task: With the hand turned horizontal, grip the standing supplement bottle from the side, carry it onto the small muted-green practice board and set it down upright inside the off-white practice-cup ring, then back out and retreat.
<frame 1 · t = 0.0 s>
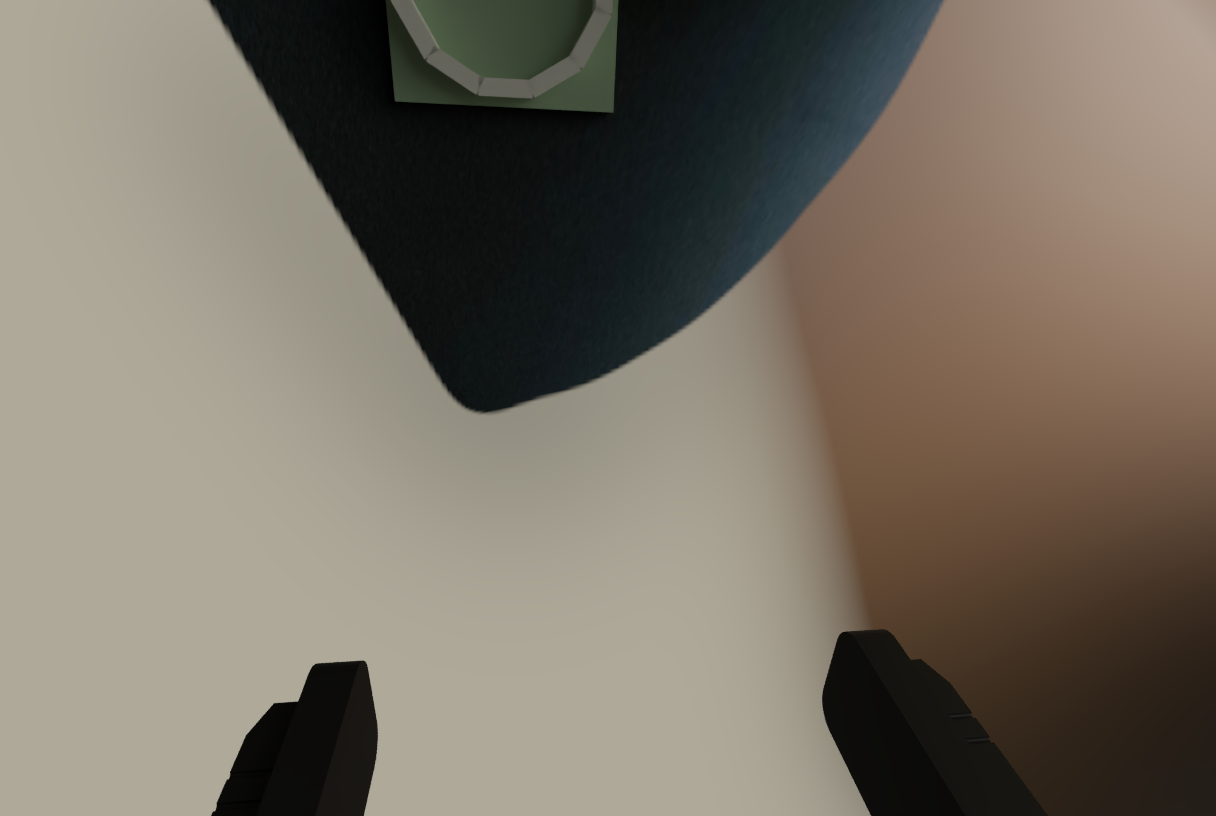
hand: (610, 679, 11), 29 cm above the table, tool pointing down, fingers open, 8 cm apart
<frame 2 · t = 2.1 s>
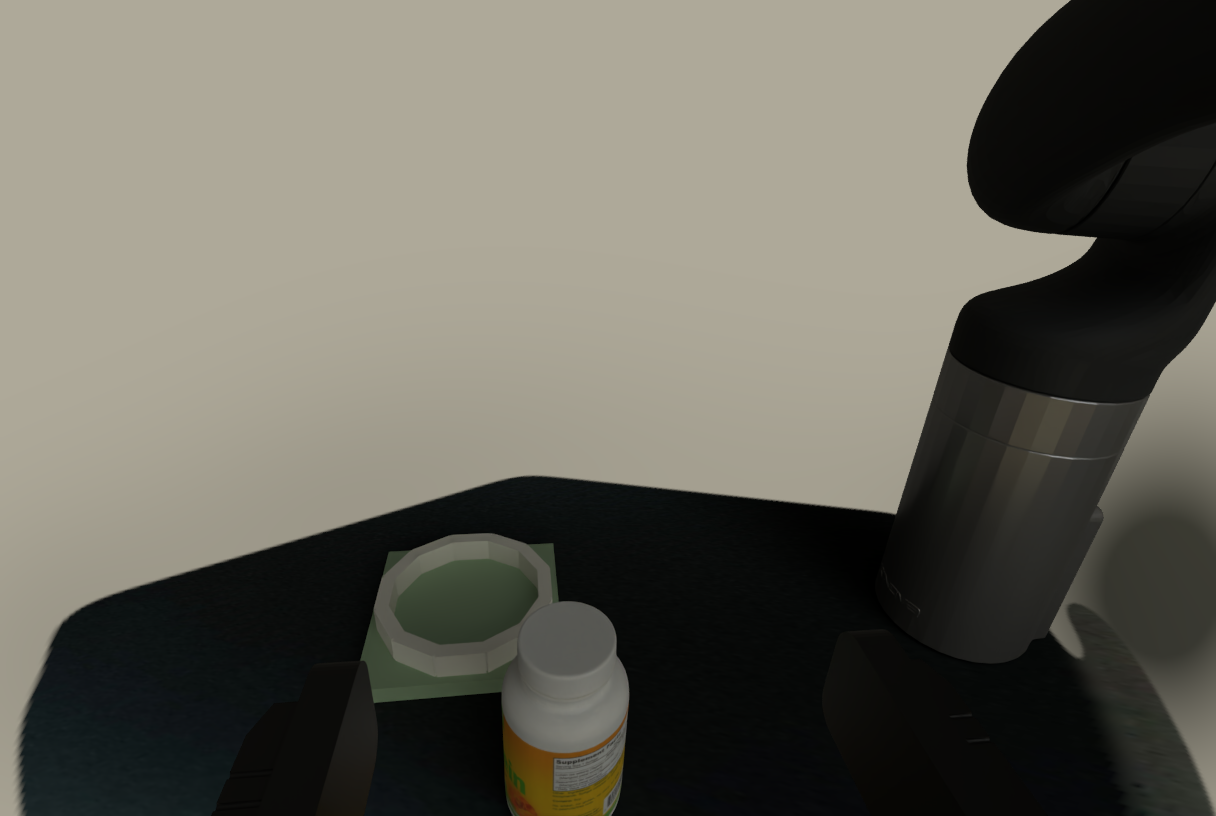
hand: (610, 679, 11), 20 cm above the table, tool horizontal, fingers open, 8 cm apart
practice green: (468, 618, 38), on the table
supplement bottle: (563, 789, 29), on the table
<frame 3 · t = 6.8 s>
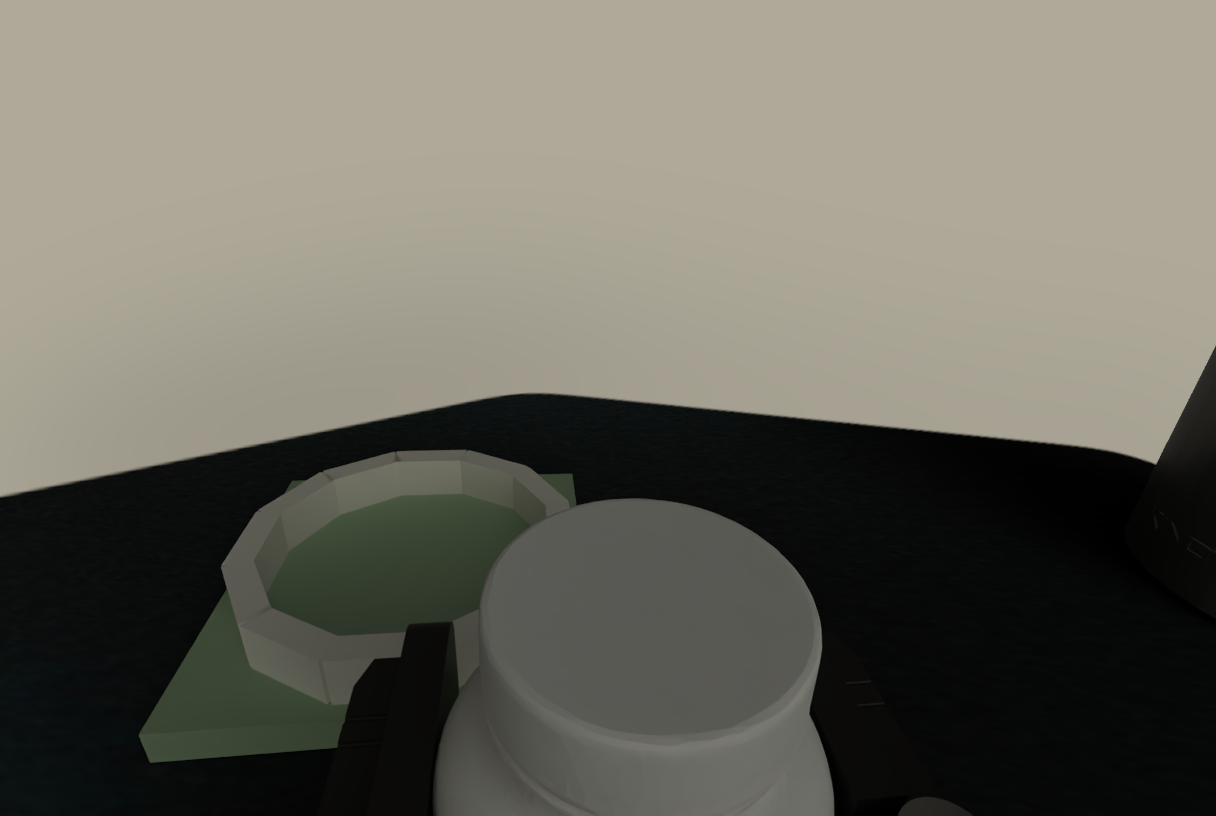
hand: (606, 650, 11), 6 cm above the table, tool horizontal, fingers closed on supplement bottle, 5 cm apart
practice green: (418, 591, 21), on the table
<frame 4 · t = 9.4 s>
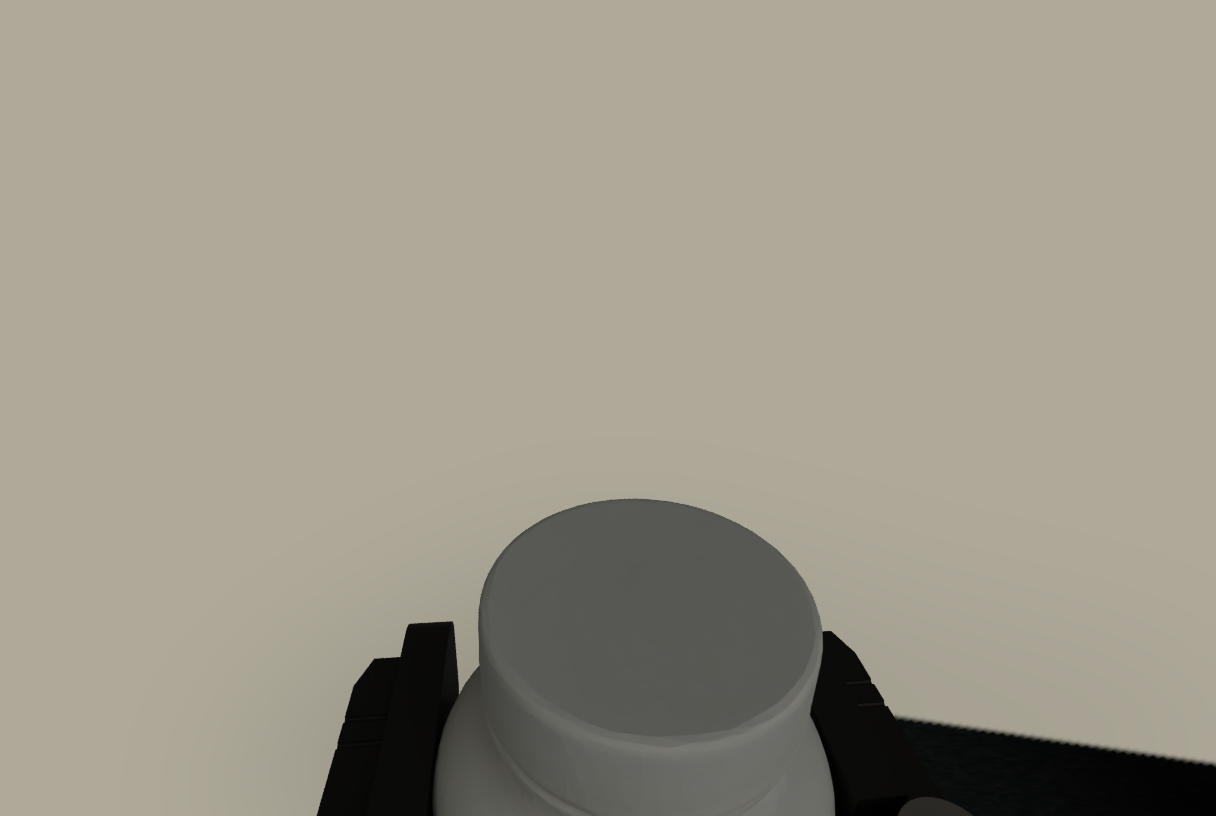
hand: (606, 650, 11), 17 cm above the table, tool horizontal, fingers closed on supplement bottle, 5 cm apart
when the fingers open (8 cm above the table, at t = 12.0 s): supplement bottle stays where it is, resting on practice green.
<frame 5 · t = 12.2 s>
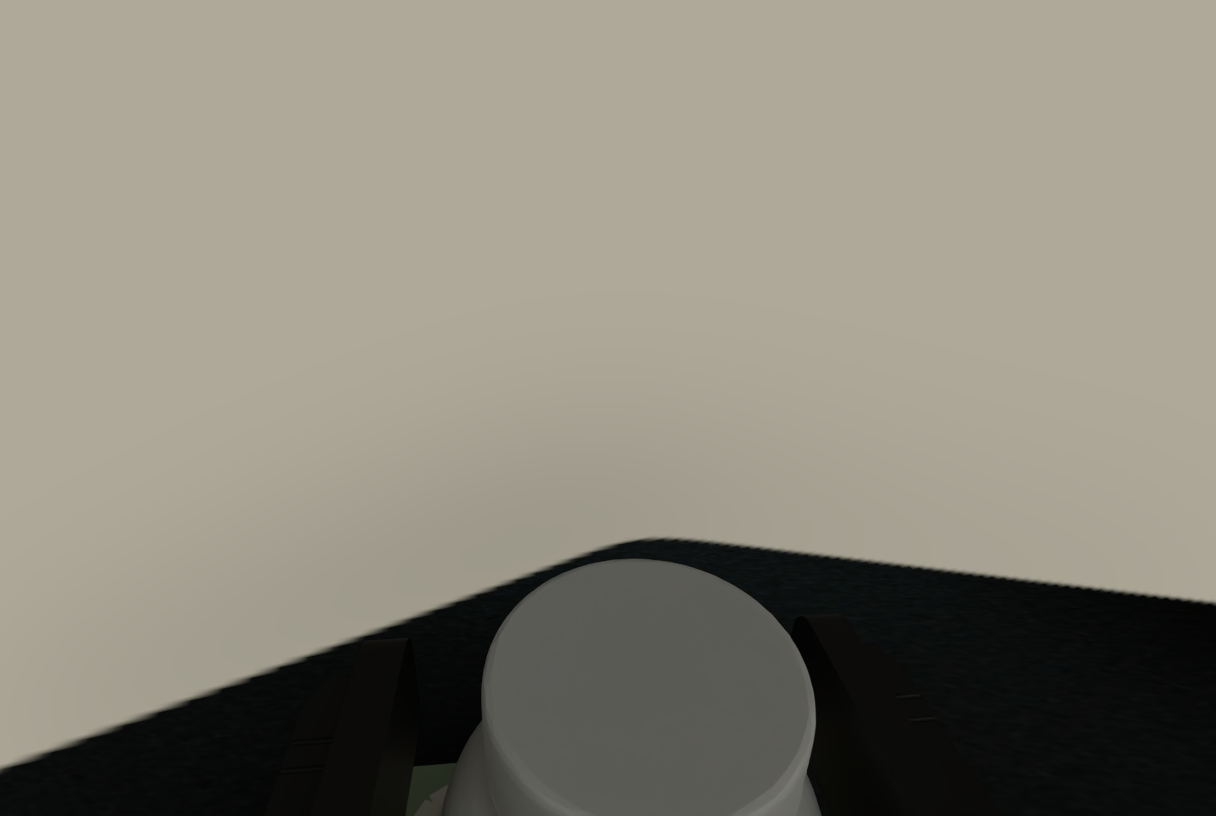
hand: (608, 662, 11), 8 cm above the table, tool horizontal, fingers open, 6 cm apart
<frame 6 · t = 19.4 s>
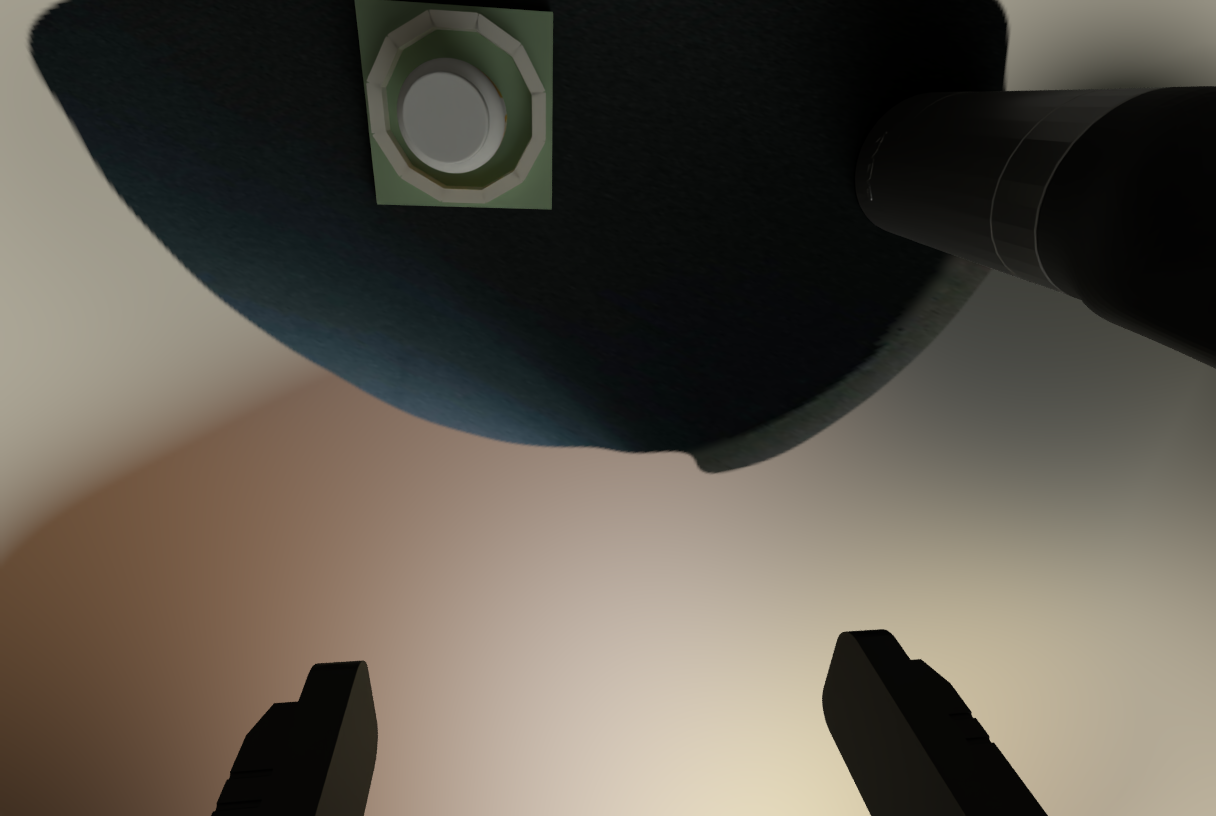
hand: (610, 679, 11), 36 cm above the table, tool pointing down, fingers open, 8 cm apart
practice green: (462, 112, 39), on the table
supplement bottle: (462, 114, 38), point 1 cm above the table, touching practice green
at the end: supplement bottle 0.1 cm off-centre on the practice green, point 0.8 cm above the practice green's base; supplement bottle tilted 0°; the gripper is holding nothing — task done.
